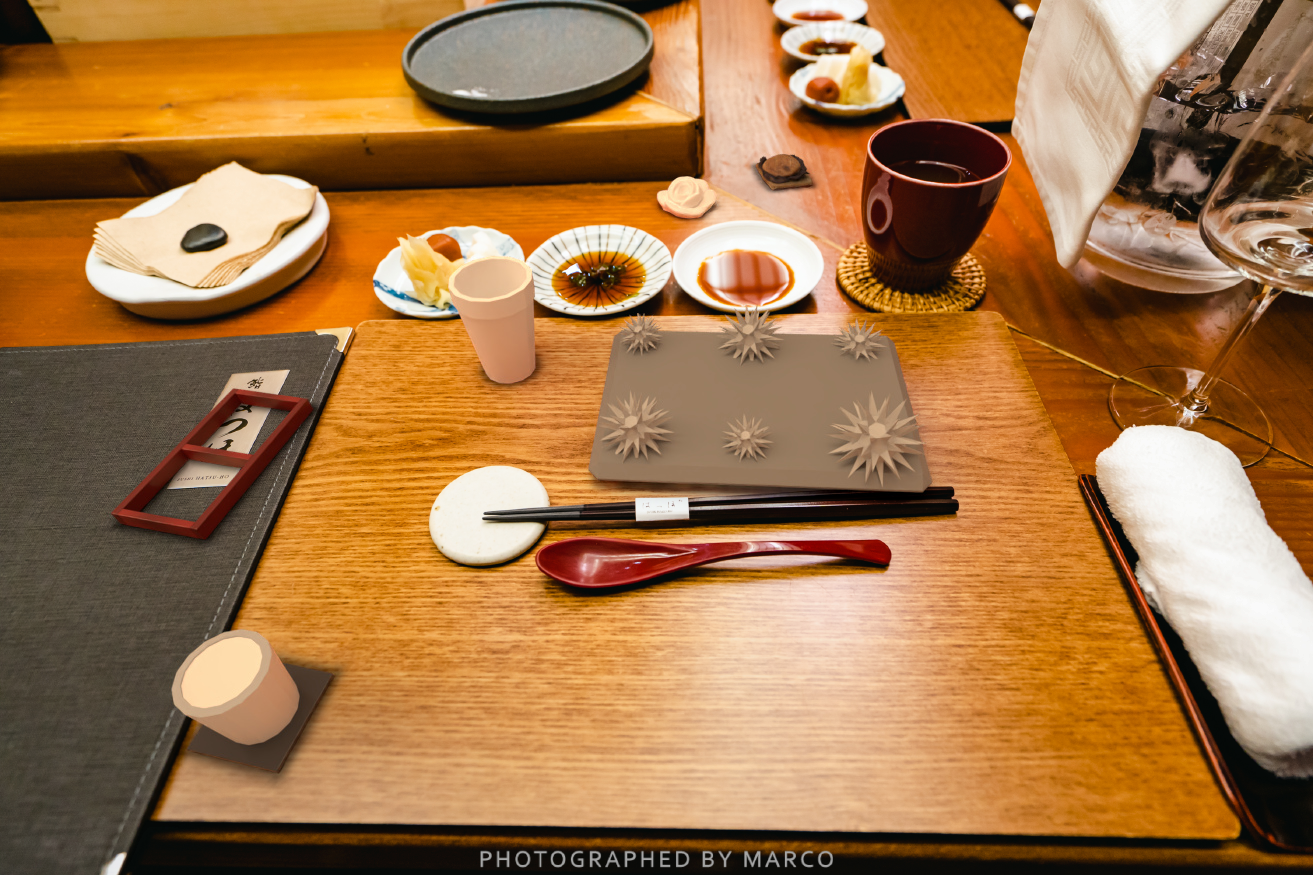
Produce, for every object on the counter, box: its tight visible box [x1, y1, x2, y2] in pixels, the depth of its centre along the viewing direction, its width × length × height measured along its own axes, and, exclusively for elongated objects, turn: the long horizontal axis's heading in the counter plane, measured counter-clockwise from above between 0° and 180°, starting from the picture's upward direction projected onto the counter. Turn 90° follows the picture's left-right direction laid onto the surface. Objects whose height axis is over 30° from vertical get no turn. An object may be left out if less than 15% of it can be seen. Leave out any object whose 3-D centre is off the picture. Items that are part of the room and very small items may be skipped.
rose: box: [656, 176, 718, 219], centre depth 113 cm, size 10×4×10 cm
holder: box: [110, 387, 314, 540], centre depth 75 cm, size 10×19×2 cm, turn 168°
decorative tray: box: [587, 304, 933, 493], centre depth 75 cm, size 35×26×10 cm
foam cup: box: [447, 255, 536, 384], centre depth 81 cm, size 10×9×13 cm
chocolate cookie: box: [755, 153, 813, 190], centre depth 120 cm, size 11×8×4 cm
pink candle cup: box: [170, 628, 300, 745], centre depth 53 cm, size 7×7×7 cm
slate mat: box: [186, 662, 335, 774], centre depth 55 cm, size 8×8×1 cm
